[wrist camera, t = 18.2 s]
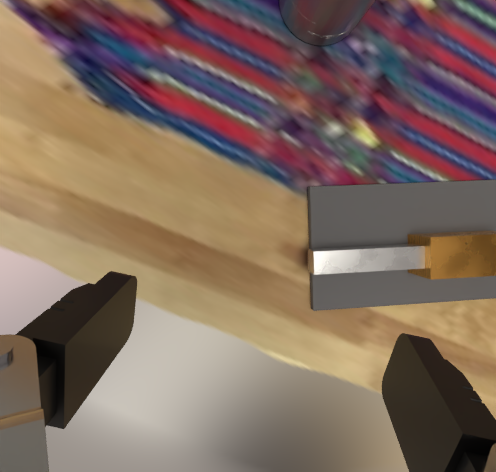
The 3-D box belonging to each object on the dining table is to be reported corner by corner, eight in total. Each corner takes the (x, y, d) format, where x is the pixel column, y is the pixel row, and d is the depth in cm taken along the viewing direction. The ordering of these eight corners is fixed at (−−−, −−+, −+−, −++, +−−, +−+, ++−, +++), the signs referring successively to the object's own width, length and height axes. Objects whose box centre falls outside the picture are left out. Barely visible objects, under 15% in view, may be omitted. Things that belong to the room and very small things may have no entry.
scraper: (306, 278, 40) (317, 286, 36) (304, 239, 40) (316, 242, 35) (488, 267, 42) (520, 274, 38) (489, 230, 42) (521, 232, 37)
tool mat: (307, 187, 40) (309, 186, 39) (519, 179, 43) (527, 178, 42) (311, 308, 41) (313, 310, 40) (517, 294, 44) (525, 296, 43)
